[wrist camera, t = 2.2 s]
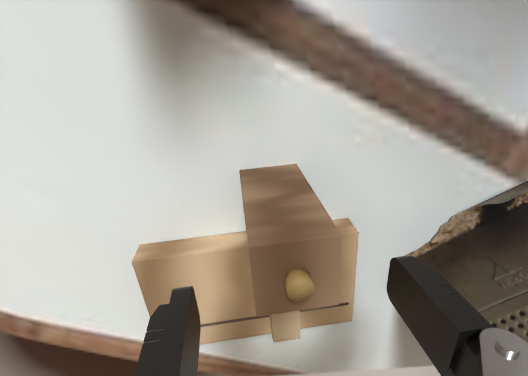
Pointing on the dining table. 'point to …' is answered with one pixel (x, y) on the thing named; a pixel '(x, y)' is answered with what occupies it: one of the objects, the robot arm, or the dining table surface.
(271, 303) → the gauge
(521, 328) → the radio
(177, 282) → the board
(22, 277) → the dining table surface
